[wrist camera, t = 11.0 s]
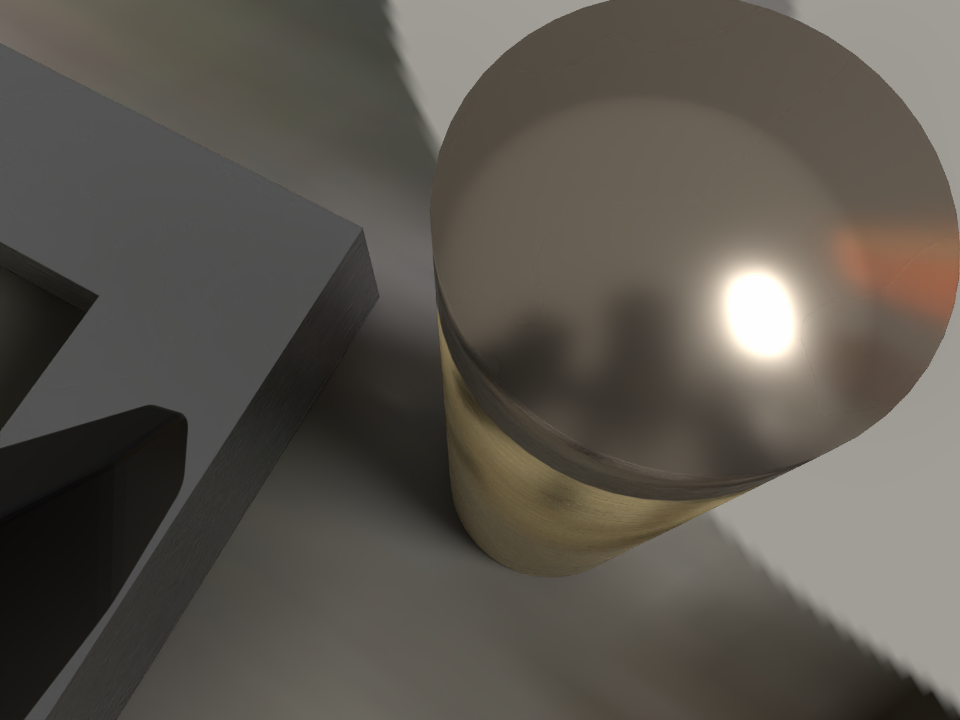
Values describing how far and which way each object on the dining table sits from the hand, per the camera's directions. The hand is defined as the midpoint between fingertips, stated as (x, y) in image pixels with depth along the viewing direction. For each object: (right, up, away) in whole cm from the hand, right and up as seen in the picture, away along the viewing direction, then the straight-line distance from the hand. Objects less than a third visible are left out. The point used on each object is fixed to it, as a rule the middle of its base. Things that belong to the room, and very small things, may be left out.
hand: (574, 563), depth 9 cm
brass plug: (+1, -1, +12) cm, 12 cm away
